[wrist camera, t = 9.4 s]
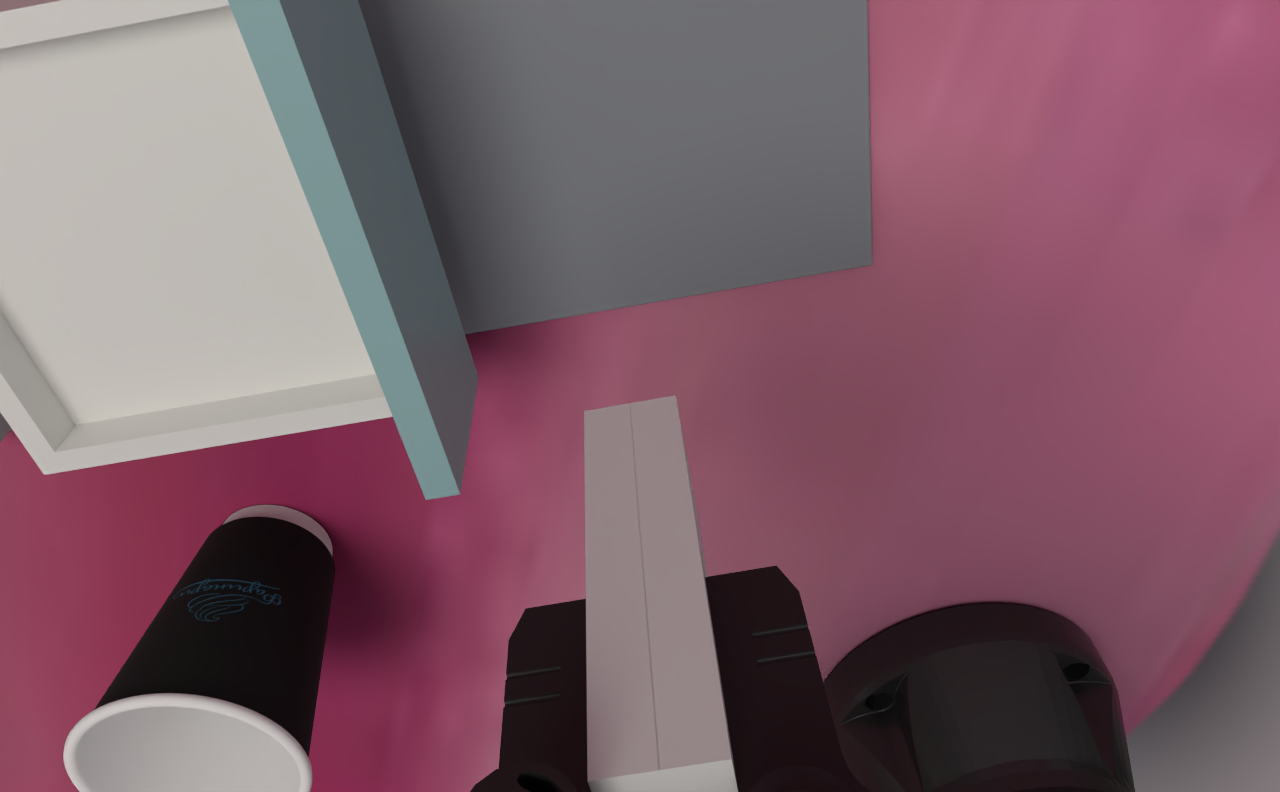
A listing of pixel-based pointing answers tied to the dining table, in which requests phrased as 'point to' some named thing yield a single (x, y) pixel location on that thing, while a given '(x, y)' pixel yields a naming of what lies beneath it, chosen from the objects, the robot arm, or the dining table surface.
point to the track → (629, 146)
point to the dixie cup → (220, 670)
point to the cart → (214, 237)
